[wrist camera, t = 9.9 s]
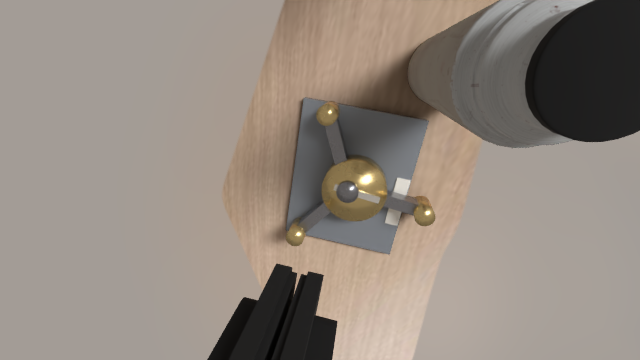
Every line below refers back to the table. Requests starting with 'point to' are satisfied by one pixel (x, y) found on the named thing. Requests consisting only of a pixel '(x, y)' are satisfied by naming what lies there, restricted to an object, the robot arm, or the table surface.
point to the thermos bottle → (536, 71)
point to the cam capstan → (354, 186)
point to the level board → (360, 139)
